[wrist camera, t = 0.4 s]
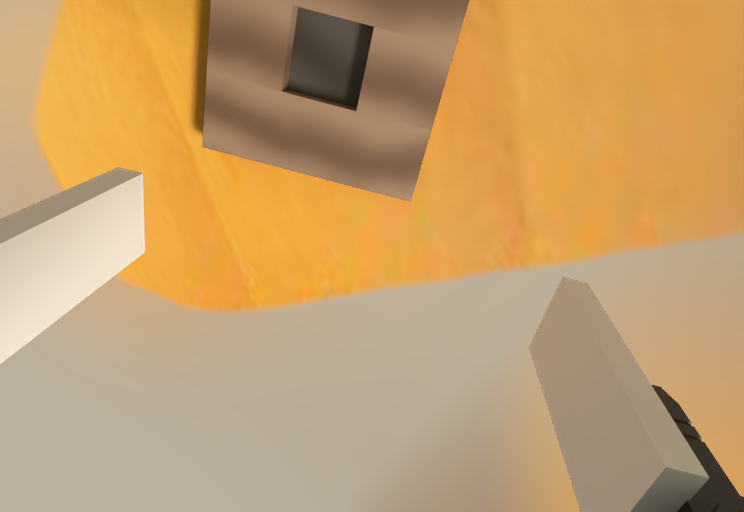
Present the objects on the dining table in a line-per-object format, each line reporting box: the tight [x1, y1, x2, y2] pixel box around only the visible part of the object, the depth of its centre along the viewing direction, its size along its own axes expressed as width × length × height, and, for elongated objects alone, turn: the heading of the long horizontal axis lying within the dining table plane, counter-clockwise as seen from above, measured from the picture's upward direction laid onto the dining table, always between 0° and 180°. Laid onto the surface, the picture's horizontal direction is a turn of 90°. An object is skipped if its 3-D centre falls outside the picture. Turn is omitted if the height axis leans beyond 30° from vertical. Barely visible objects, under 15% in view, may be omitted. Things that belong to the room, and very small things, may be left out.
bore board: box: [202, 0, 469, 202], centre depth 34 cm, size 18×18×2 cm
